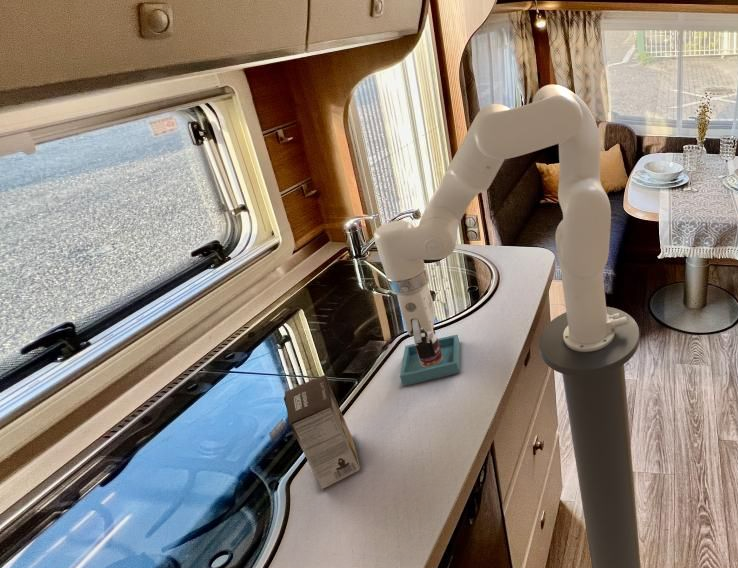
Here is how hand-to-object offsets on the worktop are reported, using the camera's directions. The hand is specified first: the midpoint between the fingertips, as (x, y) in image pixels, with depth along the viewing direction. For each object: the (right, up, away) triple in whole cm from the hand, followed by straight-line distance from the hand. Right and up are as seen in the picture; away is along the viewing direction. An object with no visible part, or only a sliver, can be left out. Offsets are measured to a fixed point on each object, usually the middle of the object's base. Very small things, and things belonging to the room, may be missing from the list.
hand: (428, 347), depth 111 cm
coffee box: (-7, -16, -21) cm, 27 cm away
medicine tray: (0, -4, +2) cm, 5 cm away
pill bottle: (0, -4, +2) cm, 4 cm away
